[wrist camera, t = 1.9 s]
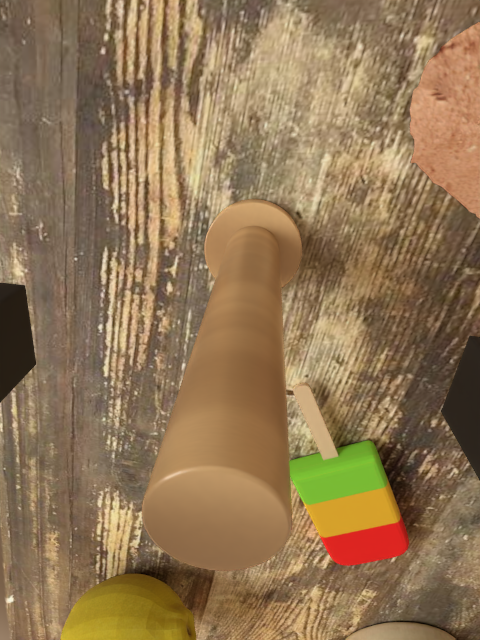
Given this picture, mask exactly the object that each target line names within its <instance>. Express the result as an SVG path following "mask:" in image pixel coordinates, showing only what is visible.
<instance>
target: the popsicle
mask: <svg viewBox="0 0 480 640" xmlns="http://www.w3.org/2000/svg"><path fill="white" fill-rule="evenodd" d="M293 392H294V395H295V397H296V400H297V402H298V404H299V406H300V409H301V411H302V413H303V415H304V418H305V420H306V422H307V424H308V427H309V429H310V431H311V434H312V436H313V438H314V440H315V443H316V445H317V447H318V449H319V452H320V453H316V454H313V455H309V456H305V457H301V458H297V459H293V460H290V461H289V463H290V477H291V479H292V481H293V483H294V485H295V487H296V489H297V491H298V493H299V495H300V497H301V499H302V501H303V503H304V505H305V507H306V509H307V511H308V513H309V515H310V517H311V519H312V521H313V523H314V525H315V527H316V529H317V531H318V533H319V535H320V537H321V539H322V541H323V543H324V545H325V547H326V549H327V551H328V553H329V555H330V557H331V558H332V559H333V560H334V561H335V562H336V563H338V564H340V565H348V566H349V565H357V564H362V563H367V562H372V561H377V560H383V559H388V558H392V557H396V556H399V555H401V554H403V553H405V551H406V550H407V549H408V545H409V539H408V534H407V531H406V528H405V525H404V522H403V519H402V516H401V514H400V511H399V508H398V506H397V503H396V500H395V498H394V495H393V492H392V489H391V487H390V484H389V481H388V479H387V476H386V473H385V471H384V468H383V465H382V462H381V460H380V457H379V454H378V452H377V449H376V447H375V445H374V443H373V442H372V441H369V440H367V441H363V442H359V443H355V444H351V445H347V446H343V447H339V448H336V447H335V445H334V442H333V440H332V438H331V435H330V433H329V431H328V428H327V426H326V423H325V421H324V419H323V416H322V414H321V412H320V409H319V407H318V404H317V402H316V400H315V397H314V395H313V393H312V390H311V388H310V386H309V385H308V384H307V383H300V384H297V385H295V386H294V388H293Z"/></svg>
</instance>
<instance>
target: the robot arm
mask: <svg viewBox="0 0 480 640" xmlns="http://www.w3.org/2000/svg"><path fill="white" fill-rule="evenodd" d="M35 365H36V359H35V352H34V345H33V338H32V331H31V324H30V317H29V310H28V303H27V296H26V289H25V285H16V284H7V283H0V402H1V401H2V400H3V399H4V398H5V397H6V396H7V395H8V394H9V393H10V392H11V390H12V389H13V388H14V387H15V386H16V385H17V384H18V383H19V382H20V381H21V380H22V379H23V378H24V377H25V375H26V374H27V373H28V372H29V371H30V370H31V369H32V368H33V367H34V366H35ZM441 412H442V414H443V416H444V418H445V419H446V421H447V423H448V425H449V427H450V428H451V430H452V432H453V434H454V435H455V437H456V439H457V441H458V443H459V444H460V446H461V448H462V450H463V452H464V453H465V455H466V457H467V459H468V460H469V462H470V464H471V466H472V468H473V469H474V471H475V473H476V475H477V476H478V478H479V480H480V337H475V336H470V337H469V339H468V342H467V344H466V347H465V350H464V352H463V355H462V358H461V360H460V363H459V366H458V368H457V371H456V373H455V376H454V379H453V381H452V384H451V387H450V389H449V392H448V395H447V397H446V400H445V402H444V405H443V408H442V410H441Z"/></svg>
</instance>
